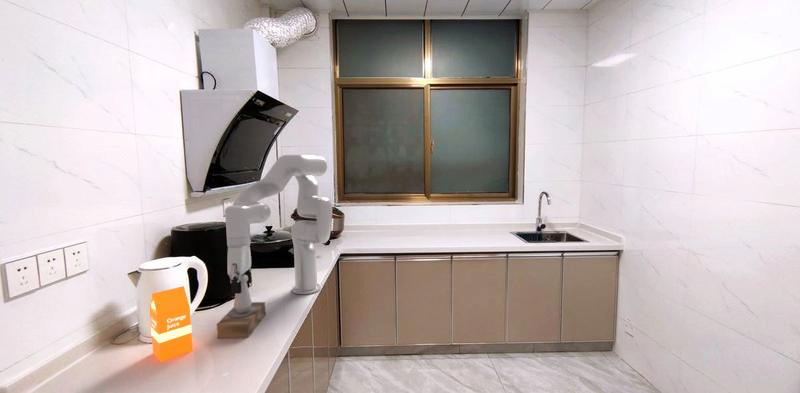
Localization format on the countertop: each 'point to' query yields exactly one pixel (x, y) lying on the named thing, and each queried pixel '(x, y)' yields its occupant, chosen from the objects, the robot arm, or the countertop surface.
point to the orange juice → (170, 324)
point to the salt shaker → (243, 296)
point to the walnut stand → (241, 322)
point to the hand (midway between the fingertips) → (242, 287)
